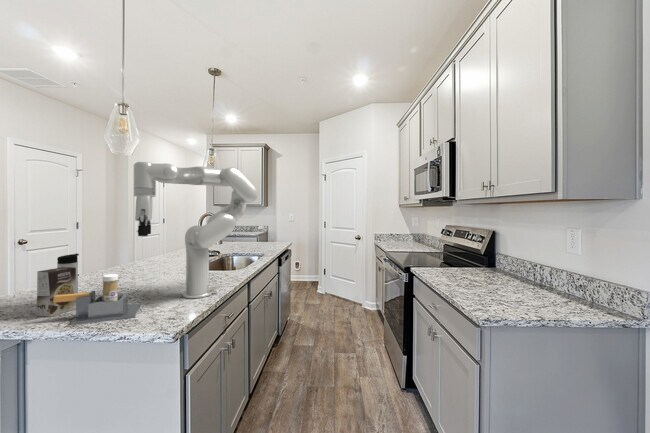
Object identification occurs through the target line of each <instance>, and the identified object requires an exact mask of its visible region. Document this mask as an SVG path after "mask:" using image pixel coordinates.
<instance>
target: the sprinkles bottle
mask: <svg viewBox="0 0 650 433" xmlns="http://www.w3.org/2000/svg"><path fill="white" fill-rule="evenodd" d="M101 279H102V295H103V299H102V301H114V300H117V294H118V280H119V275H118V274H116V273H111V274H109V273H108V274H104V275H102V278H101Z"/></svg>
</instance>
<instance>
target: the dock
mask: <svg viewBox="0 0 650 433" xmlns="http://www.w3.org/2000/svg"><path fill="white" fill-rule="evenodd" d="M102 299H103V294H101V295H95V299H94V300H91V296H84V297H77V298H76V309H75V318H74V319H72V321H70V326H75V325H76V326H77V325H82V324H89V323H90V324H93V323H100V322H108V321H115V320H126V319H131V318H132V319H133V318H134V319H135V318H136V317H137V315H138V313H139V310H140V309H141V306H142V303H141V302H138V303H130V304H129V293H128V292H125V293H117V300H114V301H102Z"/></svg>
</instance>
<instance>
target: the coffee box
mask: <svg viewBox="0 0 650 433" xmlns="http://www.w3.org/2000/svg"><path fill="white" fill-rule="evenodd" d="M36 272H37V273H36V274H37V277H36V278H37V279H36V282H37V283H36V284H37V285H36V290H37V291H36V316H38V317H39V316H40V317H49V318H52V317H54V316H55V317H56V316H58V315H60V314H63V313H66V312H69V311H73V310H76V301H66V302H55V303H54V296H56V295H65V294H76V268H73V267H61V268H57V267H56V268H50V269H44V270H43V269H42V270H40V271H39V270H38V271H36Z"/></svg>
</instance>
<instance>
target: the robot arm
mask: <svg viewBox="0 0 650 433" xmlns="http://www.w3.org/2000/svg"><path fill="white" fill-rule="evenodd" d="M156 181H157V182H158V183H161V184H175V185H176V184H177V185H192V186H208V187H209V186H210V187H212V186H213V187H231V188H232V192H231V200H230V203H229V204H228V205H226V206H225V207H224V208H221V209H220V210H218V211H217V212H216V213H213V214H212V215H211V216H210V217H209V218H208V219H207V221H206V224H204V225H192V226H190V227H189V228H188V229H187V230H186V232H185V234H184V245H185V250H186V251H185V256H186V258H185V260H186V262H185V290H184V291H183V292H182V294H181V297H183V298H184V299H200V298H206V297H208V296H211V295H212V294H213V290H220V284H210V281H209V279H210V277H209V276H210V273H209V272H210V250H209V248H211V247H214V245H216V244H217V243H219V242H220V241H221V240H223V239H224V238H226V237H228V236H229V235H230V234H231V233H233V231H234V230H235V228H236V224H237V223H236V222H237V221H238V220H240V219H241V218H242V217H243V216H244V214H245V211H246V208H247V204H250V203H254V202H255V201H256V200H257V198H258V190H257V189H256V187H255V186H254V184H252V182H251V181H249V180H248V178H247V177H246V176H245V175H244V174H243V173H242V172H241V171H240V170H238V169H237V168H235V167H227V168H219V167H212V166H211V167H209V166H201V165H200V166H199V165H198V166H190V167H176V166H174V165H173V164H170V163H152V162H148V161H136V162H135V163H134V164H133V197H135V214H134V215H135V216H134V217H135V218H134V219H135V222H138V225H137V226H138V228H137V230H138V231H137V235H138V237H148V236H149V235H151V233H152V224H151V220H152V219H153V198H156V195H157V193H156V189H157V188H156V187H157V185H156Z"/></svg>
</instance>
